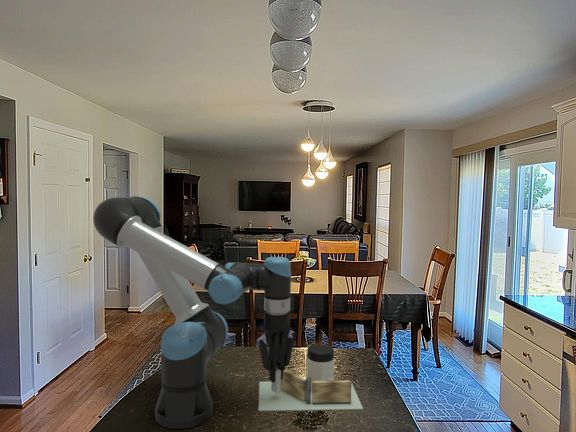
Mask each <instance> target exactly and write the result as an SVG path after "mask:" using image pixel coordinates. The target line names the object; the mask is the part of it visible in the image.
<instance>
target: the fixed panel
mask: <svg viewBox="0 0 576 432" xmlns="http://www.w3.org/2000/svg"><path fill="white" fill-rule="evenodd" d="M351 382H352V381H351V380H346V379H345V380H334V381H312V402H313V403H324V402H351V387H352V385H353V383H352V384H351Z"/></svg>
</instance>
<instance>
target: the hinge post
mask: <svg viewBox="0 0 576 432" xmlns="http://www.w3.org/2000/svg"><path fill="white" fill-rule="evenodd" d="M305 379H306V404H310V403H311V378H310V377H307V378H305Z"/></svg>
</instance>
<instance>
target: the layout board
mask: <svg viewBox="0 0 576 432" xmlns="http://www.w3.org/2000/svg"><path fill="white" fill-rule="evenodd" d="M258 383H259V385H258V387H259V389H258V391H259V392H258V412H298V411H301V412H304V411H306V412H307V411H360V410H361V411H362V410H364V407H363V405H362V403H361V401H360V399H359V396H358V394H357V391H356V389H355V387H354V385H353V382H352V381H351V384H352V387H351V402H324V403H313V402H312V391H311V403H310V404H306V400H304V401H303V400H301V399H299V398H298V397H296V396H294V395H292V394H290V393H288V392H287V391H285V390H283V389H281V392H280V393H277V394H276V393H275V392H273V391H272V390H271V381H259V382H258Z"/></svg>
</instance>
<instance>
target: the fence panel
mask: <svg viewBox="0 0 576 432" xmlns="http://www.w3.org/2000/svg"><path fill="white" fill-rule="evenodd" d="M281 389H283V390H285V391H287V392H288V393H290V394H292V395H294V396H296V397H298V398H299V399H301V400H303V401H304V400H306V378H305V377H302V376H300V375H298V374H295V372H292V371H289V370H288V369H287V368H285V370H284V371H283V379H282V380H281Z"/></svg>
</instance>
